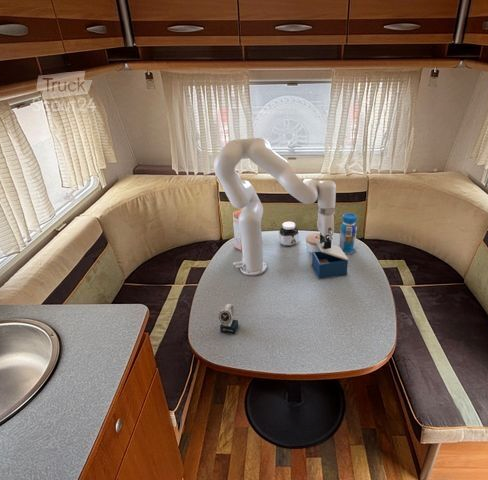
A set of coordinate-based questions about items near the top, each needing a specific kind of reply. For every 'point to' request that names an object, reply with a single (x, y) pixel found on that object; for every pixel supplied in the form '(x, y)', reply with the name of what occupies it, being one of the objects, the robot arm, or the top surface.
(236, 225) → the cracker box
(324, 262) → the block
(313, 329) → the top surface
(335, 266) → the case
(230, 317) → the watch
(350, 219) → the beverage bottle
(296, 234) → the spread jar
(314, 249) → the trinket box
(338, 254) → the lid
